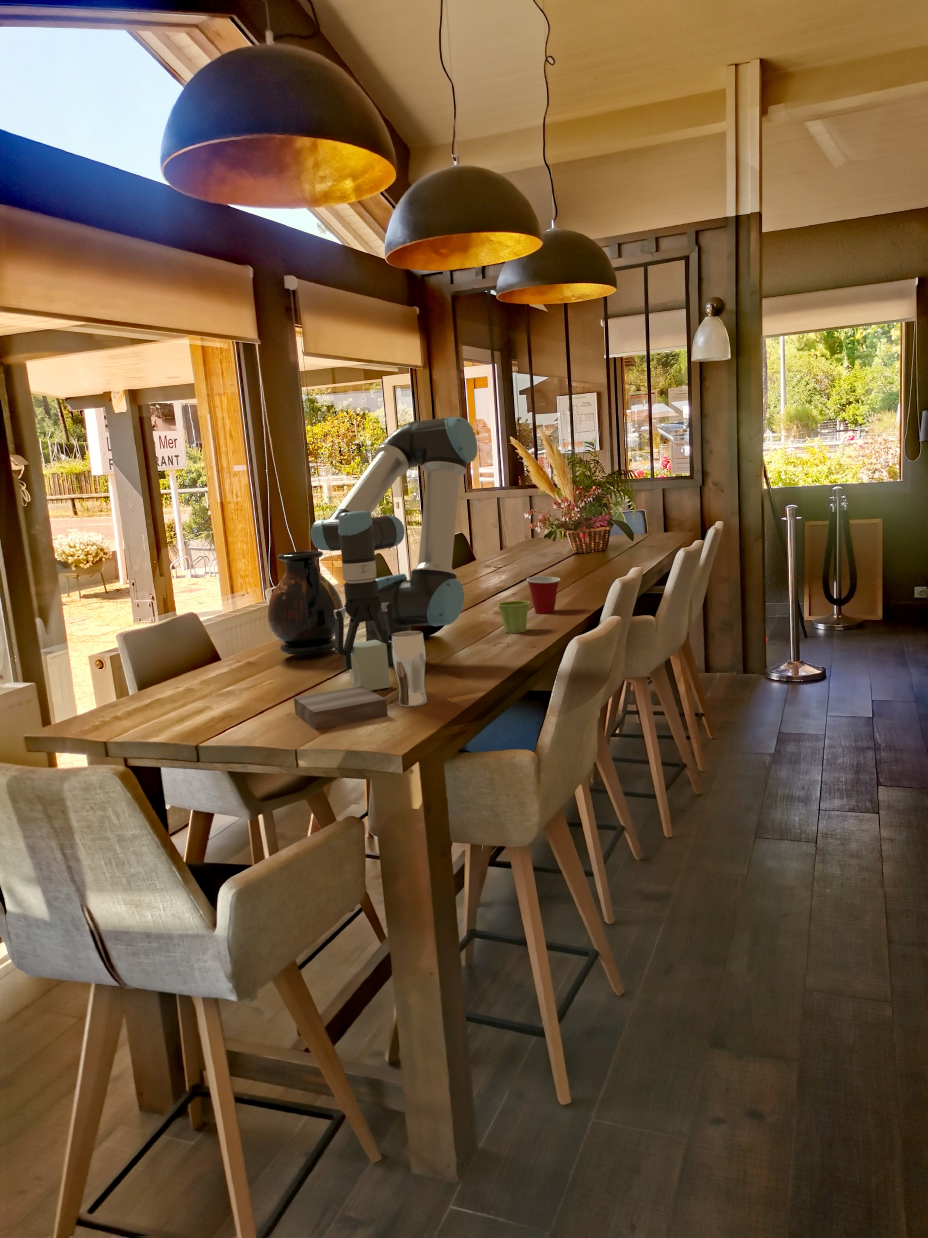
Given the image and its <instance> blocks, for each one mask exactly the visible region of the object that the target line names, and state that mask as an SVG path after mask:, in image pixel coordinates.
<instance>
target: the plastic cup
mask: <svg viewBox="0 0 928 1238" xmlns="http://www.w3.org/2000/svg"><path fill="white" fill-rule="evenodd" d="M526 582H527V584H528V586H529V590H530V595H531V600H532V605H533V609H534V613H535V615H546V614H547V615H548V614H552V613H554V612H555V606H556V601H557V600H556V599H557V593H558V587H559V583H560V582H561V578H560V577H556V576H544V575H543V576H542V575H540V576H531V577H527V578H526Z"/></svg>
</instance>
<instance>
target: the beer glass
mask: <svg viewBox="0 0 928 1238" xmlns="http://www.w3.org/2000/svg"><path fill="white" fill-rule="evenodd" d="M391 636H392V658H393V664H394V666H393V668H394V670H395V675H396V679H397V683H398V702H397V704H398V706H400V707H404V708H415V707H421V706H424V705H426V704H427V703H428V699H427V698H428V697H427V695H426V690H425V673H426V659H427V658H426V647H425V639H424V633H423V631H420V630H411V631H404V632H398V633H394V634H392V635H391Z"/></svg>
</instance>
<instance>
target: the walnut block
mask: <svg viewBox="0 0 928 1238" xmlns="http://www.w3.org/2000/svg"><path fill="white" fill-rule="evenodd" d="M293 704H294V713H295V715H296V716H298V717H299V718H300V719H301V720H302V721H304V722H305V723H306V724H308V725H309V726H310V727H312V729H314V730H316V731H317V730H321V729H327V728H333V727H338V726H343V725H349V724H354V723H359V722H365V721H370V720H374V719H375V720H376V719H380V718H386V717H388V706H387V699H386V698H385V697H383V696H381V695H379V694H378V693H375V692H374V691H373V690H371V691H370V690H368V689H367V688H365V687H363V686H358V687H347V688H341V689H335V690H329V691H324V692H318V693H313V694H307V695H301V696H295V697H293Z"/></svg>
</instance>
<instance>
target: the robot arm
mask: <svg viewBox="0 0 928 1238" xmlns="http://www.w3.org/2000/svg"><path fill="white" fill-rule="evenodd" d="M477 454H478V440H477V436H476V434H475V431H474V428H473V426H472V425H471V423H470V422H469V421H468V420H467V419H465V418H463V417H460V416H457V417H456V416H455V417H454V416H453V417H451V416H447V417H443V418H432V419H426V420H425V419H424V420H414V421H410V422H407V423H405V424H403V425H402V426H400V427H398V428H397V429H396V430H394V431H393V432H392V433H390V434H389V436H387V437H386V438H385V439H384V440H383V441H382V442H381V443H380V445H379V446H378V447H377V449H376V450H375V453H374V459H373V460H372V461H371V463H370V464H369V465H368V466H367V468H366V470H365V471H364V472H363V474H361V476H360V477H359V478H358V480H357V481H356V482H355V484H353V486H352V488H351V489H350V490H349V491H348V493H347V494H346V495H345V497H344V498H343V500H342V501H341V502H340V503H339V505H338V506H337V507H336V508H335V510H334V511H333V513H332V514H331V515H330V517H329V518H323V519H318V520H316V521H315V522H313V523H312V525H311V529H310V537H311V538H310V539H311V541H312V544H313V545H314V547H315V548H316V549H318V551H331V552H334V551H335V552H336V551H340V554H341V567H342V569H341V570H342V579H343V581H345V583H344V584H343V589H344V598H345V603H344V605H343V608H341V609H339V610H334V611H333V615H334V617H335V636H334V639H335V648H334V652H335V653H336V654H338V655H342V656H343V662H344V668H345V669H346V670H348V672H349V682H350V684H351V683H353V684H357V675H356V665H355V655H352V654H351V652H352V648H353V644H354V643H355V640H356V636H357V632H358V628H359V627H360V623H364V624H365V635H366V636H365V637H366V638H365V641H370V640H378V641H380V642H383V643H385V644H386V646H387V657H388V668H389V667H390V668H391V667H394V664H393V658H392V636H391V635H392V634H394V633H398V632H404V631H412V630H411V626H433V627H439V626H448V625H451V624H453V623H454V622H456V620H457V619H458V618H459V616H460V614H461V613H462V610H463V607H464V602H465V592H464V586H463V584H462V582H461V581H459V580H457V577H458V575H457V573H456V572H455V571H454V569H453V567H452V566H453V558H454V557H453V555H454V545H455V533H456V522H457V513H458V500H459V490H460V479H461V477H462V476H464V475H466V473H467V464H470V463H472V462H473V461H474V460H475V459H476V457H477ZM419 466H421V470H422V471H423V472H424V473H425V474H426V476H425V478H426V479H425V487H424V499H423V509H422V519H421V531H420V540H419V552H418V560H417V561H418V562H417V565H416V566H415V567H414V568H412V569H411V573H410V579H408V577H407V575H406V574H405V573H398V574H393V575H386V576H381V577H378V576H377V573H378V572H377V565H376V556H375V555H376V554H375V553H376V552H375V551H379V550H385V549H392V548H394V547H396V546H398V545H400V544H401V543H402V542H403V540H404V538H405V526H404V524H403V522H402V521H401V519H400V518H398V517H397V516H395V515H381V516H372V513H373V512H374V510H376V508H377V507H378V505H379V504H380V502H381V501H382V500H383V498H384V496H386V495H387V493H388V491H389V490H390V488H391V487H392V486H393V484H394V483H395V481H396V480H397V478H398V477H403V476H404V475H405V474H406V473H407V472H408V471H409V469H412V468H415V467H419ZM346 614H347V615H348V616H349V621H348V622H349V623H348V628H347V629H348V630H347V633H346V637H344V636H345V633H344V630H345V620H343V618H344V619H345V617H346ZM344 639H345V640H344ZM344 641H345V642H344Z"/></svg>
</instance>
